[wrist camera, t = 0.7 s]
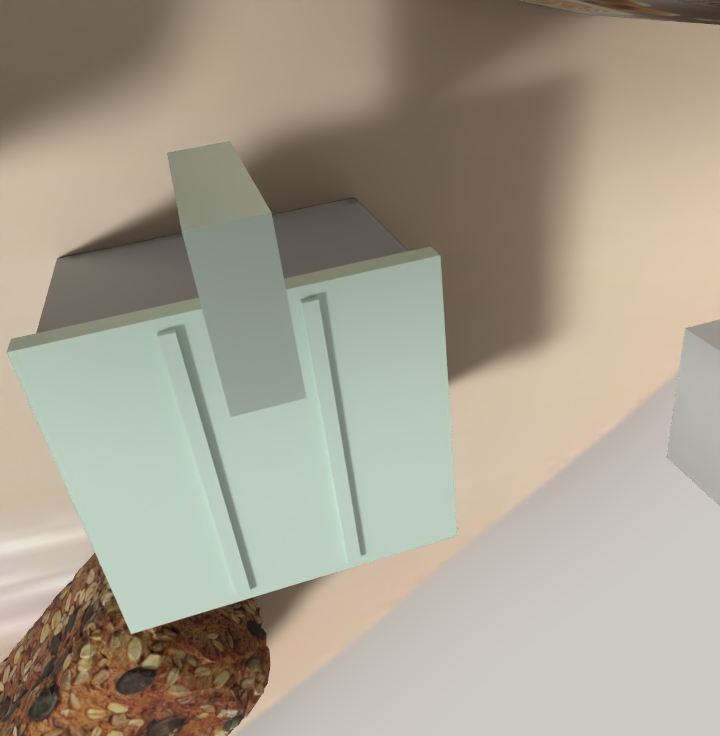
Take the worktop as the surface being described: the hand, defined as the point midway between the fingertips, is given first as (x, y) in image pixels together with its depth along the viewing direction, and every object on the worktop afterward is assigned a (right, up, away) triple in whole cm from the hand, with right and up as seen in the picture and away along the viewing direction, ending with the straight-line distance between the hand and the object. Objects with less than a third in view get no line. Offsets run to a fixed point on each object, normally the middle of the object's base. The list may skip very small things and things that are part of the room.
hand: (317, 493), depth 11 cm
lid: (-3, +1, +16) cm, 16 cm away
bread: (-15, -15, +32) cm, 39 cm away
